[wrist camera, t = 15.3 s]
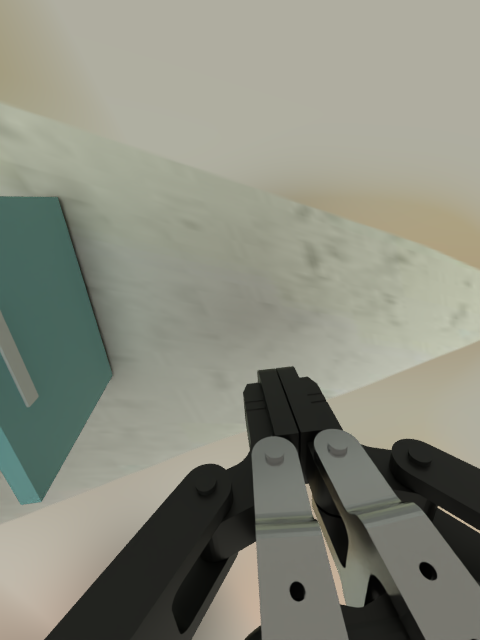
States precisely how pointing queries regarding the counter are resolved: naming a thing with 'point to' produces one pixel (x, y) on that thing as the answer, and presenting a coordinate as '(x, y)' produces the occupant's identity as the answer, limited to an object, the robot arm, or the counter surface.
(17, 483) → the drawer
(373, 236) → the counter surface
